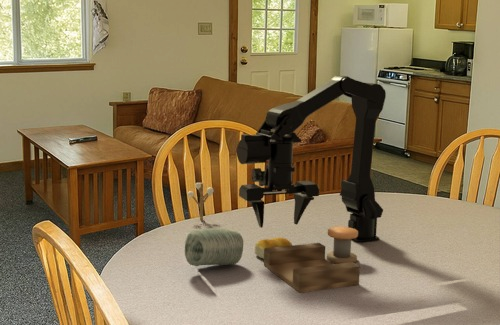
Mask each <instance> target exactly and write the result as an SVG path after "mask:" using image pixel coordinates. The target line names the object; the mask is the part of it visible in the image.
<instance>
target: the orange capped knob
mask: <svg viewBox="0 0 500 325" xmlns="http://www.w3.org/2000/svg"><path fill="white" fill-rule="evenodd" d="M327 236H328V237H330V238H333V251H330V252H327V253H326V260H327V261H329V262H331V263H332V264H341V263H350V262H353V263H355V264H356V263H357V259H358V255H357V254H355V253H353V252H351V251H352V240H354V238H357V237H358V231H357V230H356V229H353V228H349V227H348V226H347V227H346V226H334V227H329V228H327Z"/></svg>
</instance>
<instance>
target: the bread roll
mask: <svg viewBox="0 0 500 325" xmlns="http://www.w3.org/2000/svg"><path fill="white" fill-rule="evenodd" d="M292 245H293V244H292V242H291V241H290V240H289V239H288V238H285V237H274V238H273V237H272V238H270V239H269V238H263V239H260V240H259V241H257V243H256V244H255V246H254V254H255V255H256V256H257V257H259V258H261V259H263V260H264V248H273V247H283V246H292Z"/></svg>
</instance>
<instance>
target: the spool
mask: <svg viewBox="0 0 500 325" xmlns="http://www.w3.org/2000/svg"><path fill="white" fill-rule="evenodd" d="M185 238H186V239H185V243H184V257H185V259H186V262H187V263H188V264H189V265H190V266H194V267H199V266H200V267H201V266H211V265H212V266H216V265H218V266H223V265H228V266H229V265H235V264H236V265H237V263H239V262H240V261H241V260H242V259H241V258H242V256H243V252H244V238H243V236H242V235H241V233H240V232H239V231H236V230H234V229H230V228H220V227H211V228H202V229H194V230H191V231H190V232H189V233H188V234H187V236H186V237H185Z"/></svg>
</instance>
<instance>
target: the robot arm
mask: <svg viewBox="0 0 500 325" xmlns="http://www.w3.org/2000/svg"><path fill="white" fill-rule="evenodd" d="M386 93H387V92H386V90H385V89H384V87H383V86H382V85H381V84H379V83H374V82H373V83H372V82H371V83H370V82H363V81H361V80H357V79H353V78H351V77H349V76H347V75H346V76H345V75H335V76H334V77H332V78H331V79H330V80H329V81H327V82H325V83H323V84H322V85H320V86H318V87H317V88H315V89H313V90H312V91H310V92H309V93H307V94H305V95H303V96H302V97H300V98H298V99H297V100H294V101H291V102H287V103H283V104H280V105H277V106H275V107H272V108H271V109H269V110H268V111H267V112H266V115H265V116H266V117H265V119H264V121H263V122H262V124H261V126H260V127H259V128H258V130H257V131H256V133H255V134H249V133H248V134H247V133H242V134H241V135H240V137H241V138H240V139H239V141H238V144H237V147H236V157H237V160H238V163H240V164H241V165H249V164H250V165H251V164H264V163H266V162H268V163H266V164H265V170H262V169H261V167H259V168H258V167H257V168H255V167H254V168H252V169H251V182H252V184H251V183H250V184H249V183H248V184H241V186H240V187H239V189H238V196H239V197H240V198H241V199H243V200H245V201H246V202H247V203H249V204H250V205H251V207H252V209H253V211H254V215H255V218H256V220H257V224H258V226H259V228H263V226H264V220H265V218H264V217H265V201H264V200H262V199H263V198H264V196H274V195H275V196H276V195H291V194H292V195H293V198H294V209H293V210H294V212H293V223H294V224H295V225H299V222H300V220H301V218H302V216H303V214H304V212H305V210H306V209H307V207H308V206H309V204H310V202H311V201H314V200H315V197H319V196H320V187H319V185H318V183H314V182H313V181H310V180H301V181H300V180H299V181H297V180H296V181H295V182H294V183H293V181H292V180H293V172H295V170H296V169H295V166H293V153H294V144H295V143H296V144H297V143H302V138H300V137H299V136H298V135H297V133H296V132H295V131H297V129H299V128H300V127H301V126H302V125H303V124H304V122H305V121H306V119H307V118H308V117H309V116H310V115H312V114H313V113H315V112H317V111H318V110H320V109H322V108H324V107H325V106H326V105H328V104H329V103H332V102H333V101H335V100H336V99H338V98H340V97H341V96H345V97H348V98H350V99H351V108H352V110H353V113H354V116H355V125H354V135H353V136H354V138H353V147H352V148H353V149H352V156H351V168H350V175H349V176H348V178H347V179H346V180H344V179H342V180H341V183H340V184H341V187H340V189H341V190H340V193H339V196H340V197H341V201H342V203H343V205H344V206H345V210H346V212H348V213H350V214H349V219H348V221H347V222H348V223H347V227H349V228H353V229H356V230H357V231H358V237H357V238H354V239H353V240H354V241H355V242H360V243H361V242H368V241H370V242H371V241H378V240H380V237H379V236H377V226H378V219H379V218H381V217H382V214H383V213H384V208H382V206H381V205H380V204H379V203H378V202H377V201H376V195H375V194H376V192H375V191H376V190H375V189H376V188H375V186H374V184H373V180H372V178H371V173H372V172H371V170H372V162H373V151H374V143H375V142H374V141H375V131H376V122H377V119H378V117H379V116H380V114H381V113H382V111H383V109H384V104H385V100H386V97H387V96H386V95H387V94H386ZM255 183H258V185H257V184H255ZM264 186H265V187H264Z"/></svg>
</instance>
